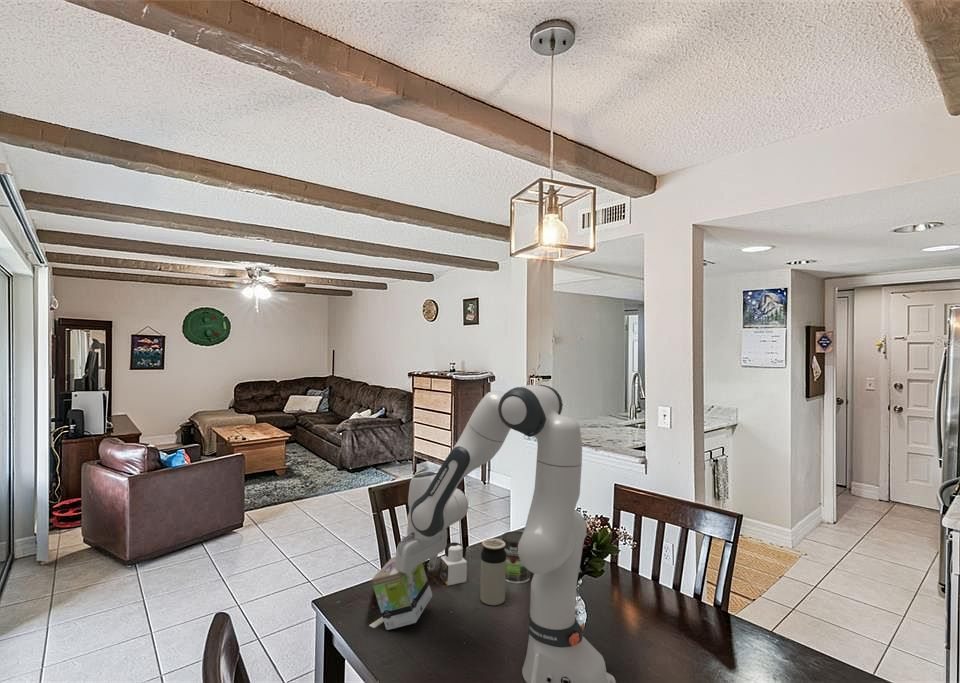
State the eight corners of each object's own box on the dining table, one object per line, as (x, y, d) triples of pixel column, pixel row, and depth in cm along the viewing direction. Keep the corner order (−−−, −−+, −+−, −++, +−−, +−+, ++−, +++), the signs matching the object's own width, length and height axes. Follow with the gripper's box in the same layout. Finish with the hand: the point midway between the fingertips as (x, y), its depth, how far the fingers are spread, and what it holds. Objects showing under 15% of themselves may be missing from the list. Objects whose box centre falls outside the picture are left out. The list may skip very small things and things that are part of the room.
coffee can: (527, 586, 165) (528, 544, 165) (497, 581, 168) (498, 540, 168) (532, 572, 174) (533, 533, 175) (505, 568, 178) (505, 529, 178)
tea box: (418, 623, 135) (400, 571, 136) (386, 631, 137) (368, 580, 138) (434, 595, 149) (418, 548, 150) (405, 603, 151) (389, 557, 152)
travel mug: (501, 608, 150) (502, 549, 150) (476, 603, 153) (478, 545, 153) (507, 596, 158) (509, 540, 158) (484, 591, 160) (485, 536, 160)
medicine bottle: (439, 576, 170) (440, 542, 170) (458, 573, 173) (459, 539, 173) (447, 586, 163) (448, 550, 163) (466, 582, 166) (467, 547, 166)
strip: (412, 602, 152) (412, 601, 152) (374, 628, 138) (374, 627, 138) (407, 600, 153) (407, 599, 153) (369, 626, 139) (369, 625, 139)
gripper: (407, 542, 131) (406, 594, 131) (451, 520, 149) (449, 565, 148) (390, 537, 134) (388, 587, 134) (434, 516, 152) (433, 560, 152)
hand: (421, 575), depth 142 cm, fingers open, 8 cm apart
